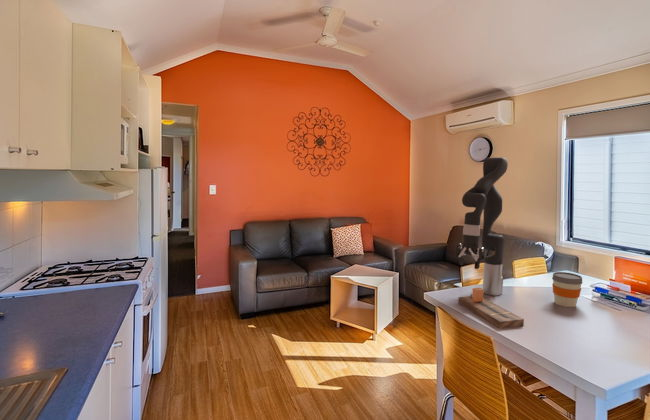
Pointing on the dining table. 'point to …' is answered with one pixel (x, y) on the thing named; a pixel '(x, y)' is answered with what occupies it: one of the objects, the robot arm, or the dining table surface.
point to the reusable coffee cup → (566, 288)
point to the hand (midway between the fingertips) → (468, 266)
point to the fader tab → (477, 294)
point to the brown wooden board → (492, 312)
